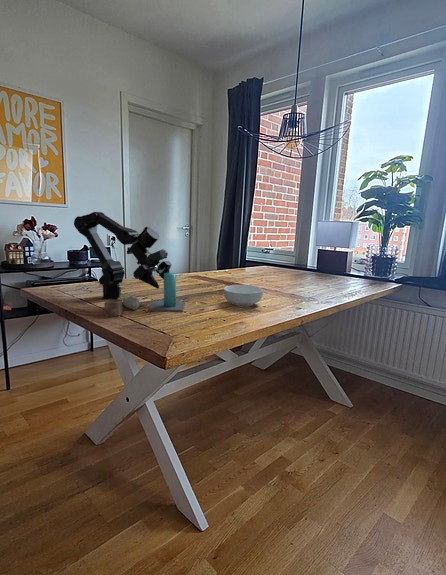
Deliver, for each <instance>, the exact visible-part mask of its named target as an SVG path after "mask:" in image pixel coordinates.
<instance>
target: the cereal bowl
mask: <svg viewBox="0 0 446 575" xmlns="http://www.w3.org/2000/svg"><path fill="white" fill-rule="evenodd" d="M223 295H224V298H225V300H226V301H227V302H229V303H230V304H233V305H234V306H236V307H242V308H244V307H245V308H247V307H251V306H252V305H255V304H258V303H259V302H260V301H261V300H262V298H263V295H264V290H263V288H262V287H259V286H255V285H249V284H247V285H246V284H237V285H236V284H233V285H227V286H225V287H224V288H223Z"/></svg>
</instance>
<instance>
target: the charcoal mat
mask: <svg viewBox="0 0 446 575" xmlns="http://www.w3.org/2000/svg"><path fill="white" fill-rule="evenodd" d="M185 306H186V301H178V300H176V306H175V307H164V300H153V302H152V303H151V304H150V306H149V307H148V309H147V310H148V312H170V313H172V312H173V313H174V312H179V313H183V312H184V309H185Z"/></svg>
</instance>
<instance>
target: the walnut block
mask: <svg viewBox="0 0 446 575" xmlns="http://www.w3.org/2000/svg"><path fill="white" fill-rule="evenodd" d="M103 304H104V317H120V316H121V315H122V314H123V311H124V310H123V299H106V300H105V302H104V303H103Z"/></svg>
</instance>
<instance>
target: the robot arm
mask: <svg viewBox="0 0 446 575" xmlns="http://www.w3.org/2000/svg"><path fill="white" fill-rule="evenodd" d="M98 225H100V226H101V227H103V228H104V229H106V230H107V231H108V232H110V233H111V234H113V235H114V236H115V237H116V240H117V241H119V242H120V244H122V245H123V246H124V245H125V246H129V245H131V246H129V247H127V250H126V255H132V256H134V257H135V259H136V260H137V262H136V264H137V265H138V267H136V269H135V270H134V271H133V273H132V275H133V278H134V279H136V280H139V281H141V282H144V283H146V284H148V285H150V286H152V287H154V288H155V289H160V284H158V282H157V280H156V278H155V277H154V274H153V272H156V273H157V274H158V277H160V278H161V279H163V280H164V273H171V272H170V270H171V268H172V265H173V264H172V263H171V262H170V261H169V260H166V261H165V260H164V259H168V254H169V253H168V251H167V250H166V249H165V248H162V249H160V250H158V251H155V252H149V249H151V248H152V247H153V246H154V245H155V244H156V243H157V241H158V240H159V239H160V234H159V233H158V232H157V231H156V230H154V229H153V228H151V227H150V226H145V227H143V230H142V231H141V232H140V233H139V232H138V231H137V230H135V229H132V228H129V227H126V226H123V225H121V224H119V222H117V221H115V220H114V219H112V218H110V217H109V216H108V215H106V214H105V213H103V212H101V211H93V212H91V213H88V214H85V215H82V216H80V215H78V216H76V217H75V218H74V220H73V227H74V228H75V229H76V230H77V232H78V233H79V234H81V235H82V236H83V237H85V238H86V240H87V242H88V243H89V245H90V246H91V249H92V250H93V251H94V253H95V255H96V257H97V258H98V260H99V262H100V264H101V273H102V275H101V276H100V278H98V282H99V285H101V286H102V297H101V300H103V299H104V300H108V299H115V300H119V298H120V297H121V296H122V290H121V287H122V286H120V284H122V283H123V280H124V277H125V268H124V267H123V266H122V263H121V261H120V260H116V261H115V260H114V259H113V257H112V256H111V253H109V251H108V249H107V247H106V246H105V244H104V242H103V240H102V238H101V237H100V235H99V234H98ZM161 260H163V261H161Z"/></svg>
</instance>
